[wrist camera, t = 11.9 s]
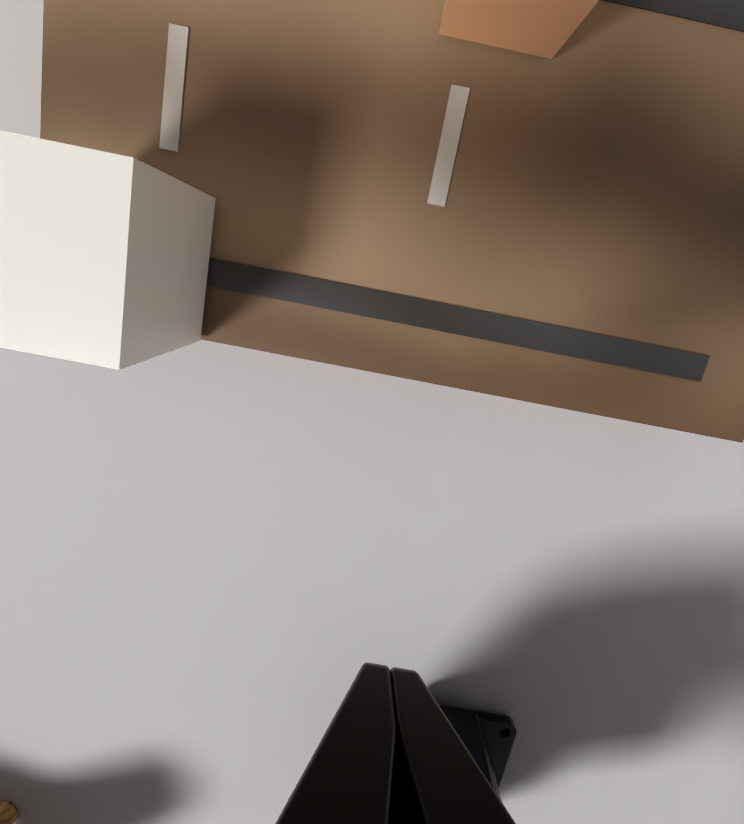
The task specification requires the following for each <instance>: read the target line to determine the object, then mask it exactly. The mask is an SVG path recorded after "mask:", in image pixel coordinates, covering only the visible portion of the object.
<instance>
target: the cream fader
mask: <svg viewBox="0 0 744 824" xmlns="http://www.w3.org/2000/svg"><path fill="white" fill-rule="evenodd" d="M215 199H216V198H214V197H212V196H210V195H208V194H206V193H204V192H202V191H200V190H198V189H196V188H194V187H192V186H190V185H188V184H186V183H184V182H182V181H180V180H178V179H176V178H174V177H172V176H170V175H168V174H166V173H164V172H162V171H160V170H158V169H156V168H154V167H152V166H150V165H148V164H145V163H143V162H141V161H139V160H137V159H135V158H133V157H128V156H123V155H119V154H114V153H109V152H104V151H99V150H94V149H89V148H84V147H79V146H75V145H70V144H65V143H60V142H55V141H50V140H45V139H40V138H36V137H31V136H26V135H21V134H16V133H11V132H6V131H1V130H0V347H1V348H6V349H11V350H17V351H22V352H28V353H33V354H38V355H44V356H49V357H54V358H60V359H65V360H70V361H76V362H81V363H86V364H92V365H97V366H102V367H108V368H113V369H118V370H120V369H122V368H125V367H128V366H131V365H133V364H136V363H139V362H142V361H145V360H147V359H150V358H153V357H156V356H158V355H161V354H164V353H167V352H169V351H172V350H175V349H178V348H181V347H183V346H186V345H189V344H192V343H194V342H197V341H200V340H201V330H202V321H203V312H204V302H205V293H206V283H207V274H208V265H209V255H210V246H211V237H212V227H213V218H214V209H215Z"/></svg>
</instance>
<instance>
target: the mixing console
mask: <svg viewBox="0 0 744 824" xmlns="http://www.w3.org/2000/svg"><path fill="white" fill-rule="evenodd" d="M444 4H445V0H44V14H43V53H42V93H41V133H40V139H45V140H50V141H55V142H60V143H65V144H70V145H75V146H79V147H84V148H89V149H94V150H99V151H104V152H109V153H114V154H119V155H123V156H128V157H133V158H135V159H137V160H139V161H141V162H143V163H145V164H148V165H150V166H152V167H154V168H156V169H158V170H160V171H162V172H164V173H166V174H168V175H170V176H172V177H174V178H176V179H178V180H180V181H182V182H184V183H186V184H188V185H190V186H192V187H194V188H196V189H198V190H200V191H202V192H204V193H206V194H208V195H210V196H212V197H214V198H216V199H215V209H214V218H213V227H212V237H211V246H210V255H209V265H208V274H207V283H206V293H205V302H204V312H203V321H202V330H201V339H202V340H208V341H213V342H218V343H223V344H229V345H234V346H239V347H244V348H250V349H255V350H260V351H265V352H270V353H276V354H281V355H286V356H291V357H297V358H302V359H307V360H312V361H318V362H323V363H328V364H333V365H339V366H344V367H349V368H354V369H360V370H365V371H370V372H375V373H381V374H386V375H391V376H396V377H401V378H407V379H412V380H417V381H422V382H428V383H433V384H438V385H443V386H449V387H454V388H459V389H464V390H470V391H475V392H480V393H485V394H491V395H496V396H501V397H506V398H511V399H517V400H522V401H527V402H532V403H538V404H543V405H548V406H553V407H559V408H564V409H569V410H574V411H580V412H585V413H590V414H595V415H601V416H606V417H611V418H616V419H621V420H627V421H632V422H637V423H642V424H648V425H653V426H658V427H663V428H669V429H674V430H679V431H684V432H690V433H695V434H700V435H705V436H711V437H716V438H721V439H726V440H731V441H737V442H743V440H744V0H599V1H598V2H597V3H596V5H595V6H594V7H593V8H592V10H591V11H590V12H589V13H588V14H587V16H586V17H585V18H584V19H583V21H582V22H581V23H580V24H579V26H578V27H577V28H576V29H575V31H574V32H573V33H572V34H571V36H570V37H569V38H568V39H567V40H566V42H565V43H564V44H563V45H562V47H561V48H560V49H559V50H558V52H557V53H556V54H555V55H554V57H553V58H552V59H549V58H545V57H540V56H536V55H531V54H527V53H522V52H518V51H513V50H508V49H504V48H499V47H495V46H490V45H486V44H481V43H477V42H472V41H468V40H463V39H459V38H454V37H449V36H445V35H440V34H439V30H440V25H441V20H442V15H443V9H444Z"/></svg>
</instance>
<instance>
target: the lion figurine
mask: <svg viewBox="0 0 744 824" xmlns="http://www.w3.org/2000/svg"><path fill="white" fill-rule="evenodd" d="M17 816H18V812H17V811H16V808H15V807H14V806H13V805H11V803H10V802H9V801H3V802H0V824H12V823H13V822H14V821H15V819H16V818H17Z"/></svg>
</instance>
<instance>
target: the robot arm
mask: <svg viewBox="0 0 744 824" xmlns="http://www.w3.org/2000/svg"><path fill="white" fill-rule="evenodd" d="M502 728H506V729H504V730H500V729H502ZM515 736H516V729H515V726H514V723H513V720H512V719H511V718H510V717H507V716H503V715H497V714H491V713H485V712H479V711H473V710H467V709H461V708H455V707H448V706H442V705H438V703H437V702H436V700H435V699H434V697H433V696H432V694H431V693H430V691H429V690H428V688H427V686H426V685H425V683H424V682H423V680H422V679H421V677H420V676H419V674H418V673H417V672H416V671H413V670H408V669H402V668H396V667H393V668H391V670H390V669H389V668H388V667H387V666H385V665H379V664H373V663H364V664H363V665H362V667H361V669H360V671H359V672H358V674H357V676H356V678H355V680H354V681H353V683H352V685H351V687H350V689H349V691H348V692H347V694H346V696H345V698H344V700H343V701H342V703H341V705H340V707H339V709H338V711H337V712H336V714H335V716H334V718H333V720H332V722H331V723H330V725H329V727H328V729H327V731H326V732H325V734H324V736H323V738H322V740H321V742H320V743H319V745H318V747H317V749H316V751H315V753H314V754H313V756H312V758H311V760H310V762H309V763H308V765H307V767H306V769H305V771H304V773H303V774H302V776H301V778H300V780H299V782H298V783H297V785H296V787H295V789H294V791H293V793H292V794H291V796H290V798H289V800H288V802H287V804H286V805H285V807H284V809H283V811H282V813H281V814H280V816H279V818H278V820H277V822H276V824H516V823H515V822H514V820H513V819H512V817H511V816H510V814H509V813H508V811H507V810H506V808H505V807H504V805H503V803H502V801H501V797H500V793H499V789H498V788H499V785H500V782H501V779H502V776H503V773H504V770H505V766H506V763H507V760H508V757H509V754H510V751H511V748H512V745H513V742H514V739H515Z"/></svg>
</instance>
